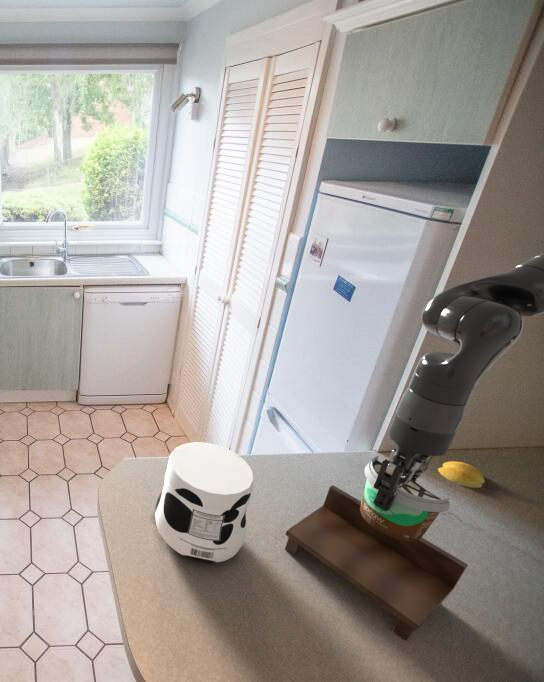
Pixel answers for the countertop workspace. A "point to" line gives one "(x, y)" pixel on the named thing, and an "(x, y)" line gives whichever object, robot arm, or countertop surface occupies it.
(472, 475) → the yellow ridged fruit
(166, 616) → the countertop surface
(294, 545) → the shelf
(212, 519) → the milk container
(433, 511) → the food container
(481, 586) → the countertop surface
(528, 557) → the countertop surface
